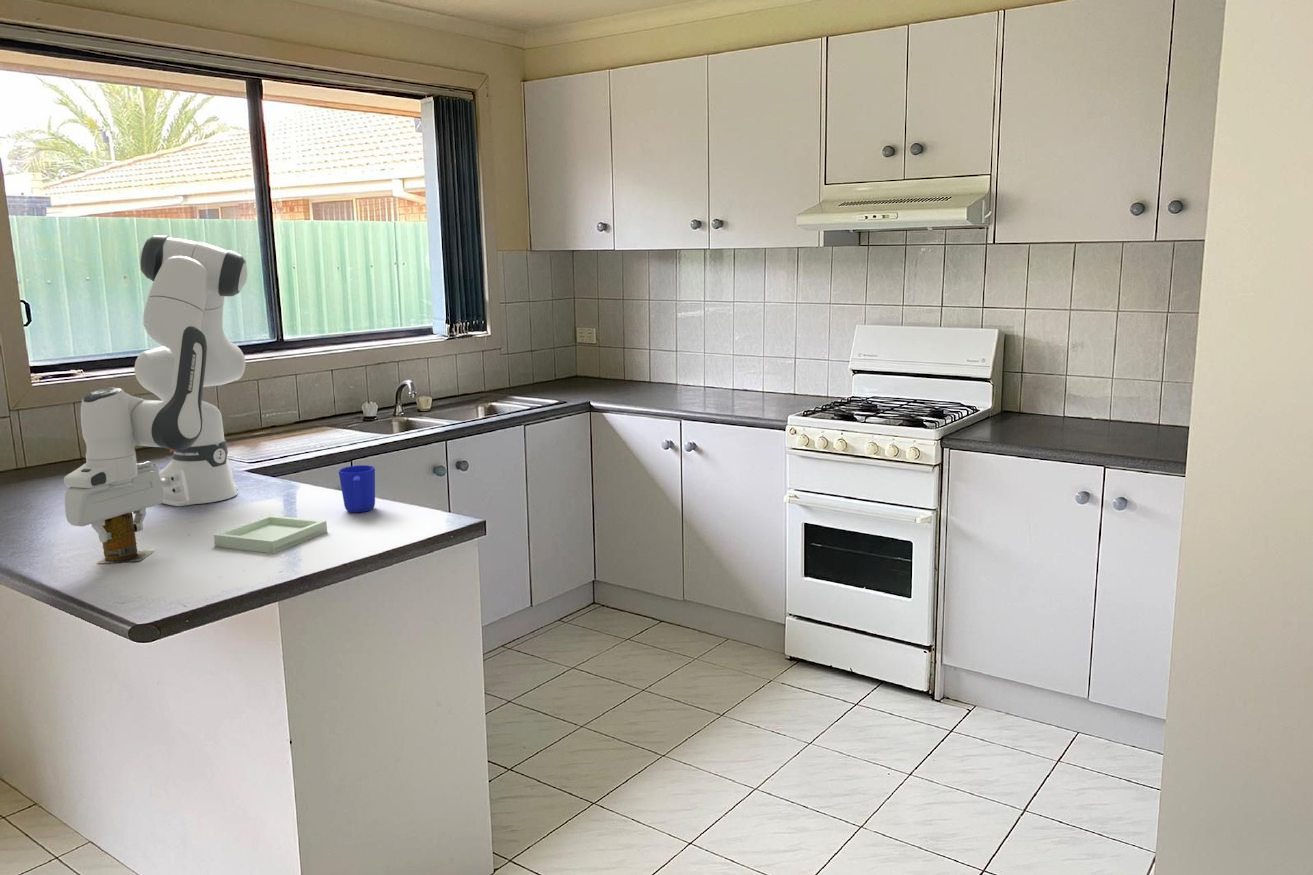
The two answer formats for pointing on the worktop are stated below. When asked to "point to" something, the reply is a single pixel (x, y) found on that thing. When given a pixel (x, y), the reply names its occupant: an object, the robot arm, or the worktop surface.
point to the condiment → (121, 541)
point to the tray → (270, 534)
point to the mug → (358, 488)
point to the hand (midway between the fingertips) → (121, 536)
